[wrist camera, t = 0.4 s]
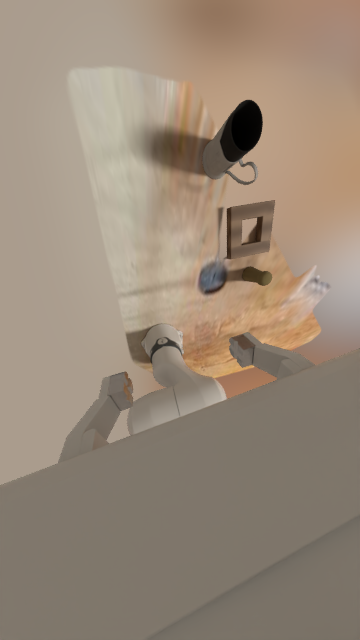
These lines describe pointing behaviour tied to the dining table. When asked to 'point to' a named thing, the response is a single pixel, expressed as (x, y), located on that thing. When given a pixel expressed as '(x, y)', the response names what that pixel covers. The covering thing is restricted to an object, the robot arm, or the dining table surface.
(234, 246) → the walnut collar
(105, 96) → the dining table surface
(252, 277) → the cork
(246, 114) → the glass holder
